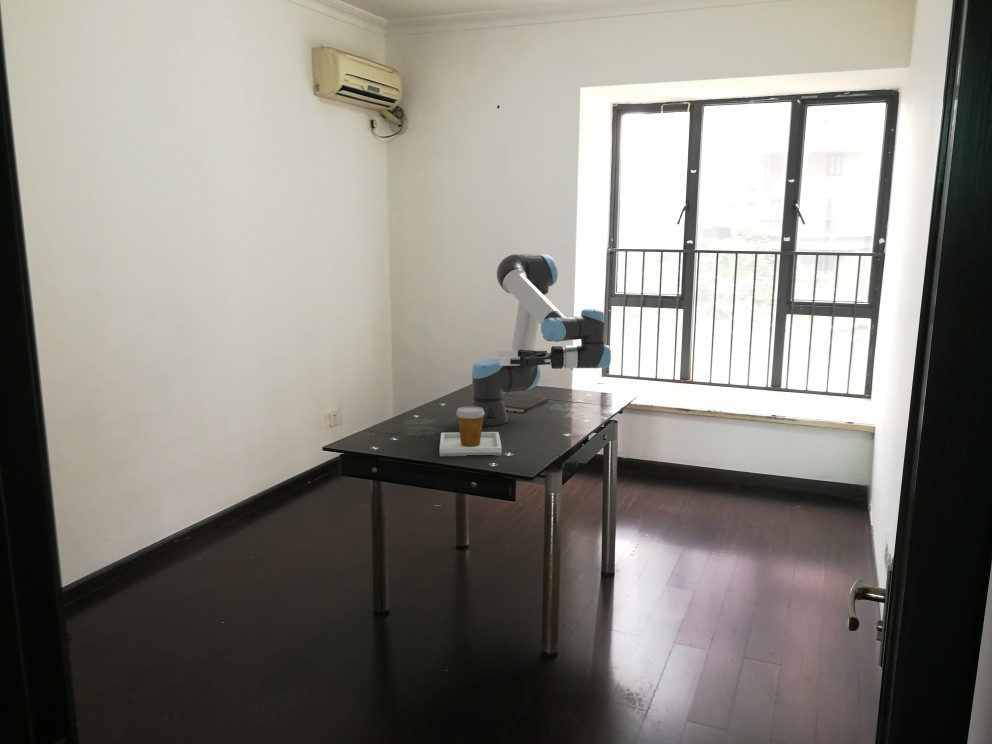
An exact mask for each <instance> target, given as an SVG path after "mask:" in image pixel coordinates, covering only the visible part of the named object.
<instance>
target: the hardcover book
mask: <svg viewBox="0 0 992 744" xmlns="http://www.w3.org/2000/svg"><path fill="white" fill-rule="evenodd" d="M548 401H550V399H549V398H548V397H542V396H534V395H527V394H526V395H525V394H513V395H510V396H508V397H505V398H503V403H504V406H505V409H506V410H508V411H507V412H514V411H516V412H515V413H521V412H524V414H525V413H528V412H529V410H530V411H532V410H534V409H536V408H538V407H537V406H539V407H541V406H543V405H545V404H547V403H549V402H548ZM546 402H547V403H546ZM544 403H545V404H544ZM542 404H543V405H542ZM540 405H541V406H540ZM535 407H536V408H535ZM533 408H534V409H533ZM531 409H532V410H531ZM527 411H528V412H527Z"/></svg>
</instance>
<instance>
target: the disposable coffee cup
mask: <svg viewBox="0 0 992 744" xmlns="http://www.w3.org/2000/svg"><path fill="white" fill-rule="evenodd" d="M455 414H456V417H457V422H458V430H459V432H460V439H461V445H463V446H468V447H473V446H478V445H480V439H481V432H482V428H483V425H482V422H483V416H484V414H485V413H484V411H483V408H480V407H473V406H471V405H470V406H462V407H459V408H457V410H456V413H455Z"/></svg>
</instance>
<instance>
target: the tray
mask: <svg viewBox="0 0 992 744" xmlns="http://www.w3.org/2000/svg"><path fill="white" fill-rule="evenodd" d="M502 447H503V446H502V443H501V437H500V433H499V431H481V439H480V445H478V446H473V447H468V446H463V445H461V439H460V431H459V432H456V431H455V432H441V433H440V441H439V457H468V456H467V455H495V456H502V455H503V454H502V453H503V451H502Z"/></svg>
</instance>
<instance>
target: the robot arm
mask: <svg viewBox="0 0 992 744" xmlns="http://www.w3.org/2000/svg"><path fill="white" fill-rule="evenodd" d="M496 269H497V270H496V279H497V282H498V284H499V286H500V287H501V288H502V290H503V291H505V293H507V294H509V295H512V296H513V298H515V299H516V300H517V301H518V305H517V310H516V311H517V312H516V318H515V325H514V332H513V339H512V344H511V345H512V346H511V350H498V351H497V353H498V357H497V358H488V359H486V358H485V359H482V360H478V361H477V362H475V363H474V364H473V365H472V372H471V379H472V380H471V381H472V383H471V385H472V387H471V389H472V402H471V405H470V406H473V407H480V408H483V411H484V413H485V414H484V416H483V422H482V427H483V426H484V427H486V426H492V427H493V426H499V425H504V424H506V423H508V420H509V419H508V413H507V411H506V409H505V406H504V403H503V399H504V393H512V392H518V391H519V392H520V391H527V390H532V389H534V388H535V387H536V386H537V385H538V384H539V382H540V378H541V367H540V366H544V365H548V366H549V365H550V366H551V369H553V370H555V369H559V370H561V369H563V368H564V369H570V371H573V370H574V369H600V368H601V369H603V368H604V369H606V368H609V366H610V364H611V362H612V361H611V360H612V353H611V352H612V350H611V347H610V346H609V345H607V344H605V325H606V324H605V321H606V320H605V313H604V310H602V309H599V308H598V309H597V308H590V309H589V308H586V309H582V311H580V312H581V314H580V315H578V316H576V315H575V316H565V314H563V312H561V311H560V309H558V308H557V307H556V306H555V305H554V304H553V302H551V301H550V300H549V299H548V298H547V297H546V295H547V294H548V293H549V290H550V289H549V288H550V287H552V286H554V285H555V284H556V282H557V280H558V267H557V264H556V261H555V260H554V258H553V257H552V256H551V255H549V254H546V253H544V254H543V253H529V254H528V253H527V254H517V253H516V254H510V255H507V256H506V257H504V258H503V259H502V260H501V261H500V263H499V264H498V266H497V268H496ZM539 324H540V331H541V332H540V333H541V334H542V338H543V339H544V340H545V341H547V342H556V343H560V342H565V341H575V340H580V345H564V347H563V345H552V346H551V348H550V352H548V351H547V350H535V347H536V342H537V335H538V328H539Z"/></svg>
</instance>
